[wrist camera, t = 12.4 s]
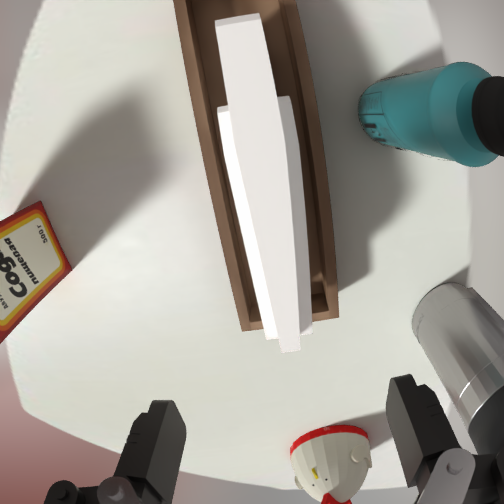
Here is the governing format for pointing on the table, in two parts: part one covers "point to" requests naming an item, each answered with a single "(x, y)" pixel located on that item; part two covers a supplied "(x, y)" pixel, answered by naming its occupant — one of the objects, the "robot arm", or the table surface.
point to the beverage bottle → (439, 113)
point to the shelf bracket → (265, 180)
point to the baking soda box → (27, 264)
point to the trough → (308, 132)
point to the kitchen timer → (331, 462)
